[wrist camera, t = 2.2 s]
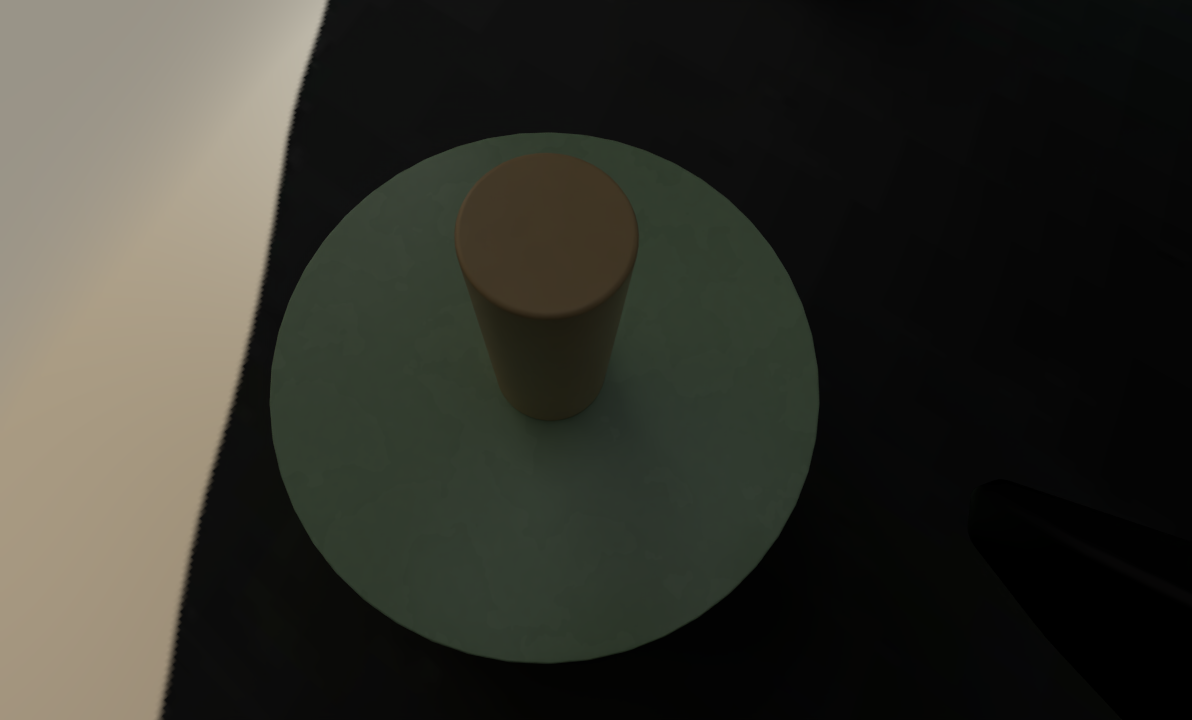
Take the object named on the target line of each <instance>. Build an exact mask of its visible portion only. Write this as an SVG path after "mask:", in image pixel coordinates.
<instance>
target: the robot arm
mask: <svg viewBox="0 0 1192 720" xmlns="http://www.w3.org/2000/svg"><path fill="white" fill-rule="evenodd" d="M968 533H969V536H970V539H971V541H972V543H973V544H974V546H975V547H976V549H977V550H978V551H979V553H980V554H981V555H982V556H983V558H984V559H985V560H986V562H987V563H988V564H989V565H990V567H991V568H992V569H993V571H994V572H995V573H996V574H997V576H998V577H999V578H1000V580H1001V581H1002V582H1003V583H1004V585H1005V586H1006V587H1007V589H1008V590H1009V591H1010V593H1011V594H1012V595H1013V596H1014V598H1015V599H1016V600H1017V602H1018V603H1019V604H1020V605H1021V607H1022V608H1023V609H1024V611H1025V612H1026V613H1027V614H1028V616H1029V617H1030V618H1031V620H1032V621H1033V622H1034V623H1035V625H1036V626H1037V627H1038V628H1039V629H1040V631H1041V632H1042V633H1043V634H1044V636H1045V637H1046V638H1047V639H1048V640H1049V641H1050V642H1051V644H1052V645H1053V646H1054V647H1055V648H1056V649H1057V650H1058V651H1059V652H1060V654H1061V655H1062V656H1063V657H1064V658H1065V659H1066V660H1067V661H1068V662H1069V663H1070V664H1071V665H1072V666H1073V667H1074V669H1075V670H1076V671H1077V672H1078V673H1079V674H1080V675H1081V676H1082V677H1083V678H1084V679H1085V680H1086V681H1087V682H1088V683H1089V685H1090V686H1091V687H1092V688H1093V689H1094V690H1095V691H1096V692H1097V693H1098V694H1099V695H1100V696H1101V697H1102V698H1103V700H1104V701H1105V702H1106V703H1107V704H1108V705H1109V706H1110V707H1111V708H1112V709H1113V710H1114V711H1115V712H1116V713H1117V715H1118V716H1119V717H1120V718H1121V719H1122V720H1192V542H1191V541H1188V540H1185V539H1182V538H1179V537H1176V536H1173V535H1170V534H1167V533H1164V532H1161V531H1158V530H1155V529H1152V528H1149V527H1146V526H1143V525H1140V524H1137V523H1134V522H1131V521H1128V520H1125V519H1122V518H1119V517H1116V516H1113V515H1110V514H1107V513H1104V512H1101V511H1098V510H1095V509H1092V508H1089V507H1086V506H1083V505H1080V504H1077V503H1074V502H1071V501H1068V500H1065V499H1062V498H1059V497H1056V496H1053V495H1050V494H1047V493H1044V492H1041V491H1038V490H1035V489H1032V488H1029V487H1026V486H1023V485H1020V484H1017V483H1014V482H1011V481H1008V480H1003V479H998V480H994V481H991V482H988V483H986V484H983V485H981V486H978V487H976V488H975V489H974V490H973V492H972V494H971V501H970V510H969V520H968Z"/></svg>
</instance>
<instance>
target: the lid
mask: <svg viewBox="0 0 1192 720" xmlns="http://www.w3.org/2000/svg"><path fill="white" fill-rule="evenodd" d="M270 413H271V425H272V437H273V443H274V447H275V451H276V456H277V460H278V465H279V469H280V473H281V477H282V479H283V482H284V484H285V487H286V490H287V492H288V495H289V497H290V500H291V502H292V505H293V508H294V510H295V512H296V514H297V515H298V517H299V519H300V521H301V522H302V524H303V526H304V528H305V530H306V531H307V533H308V535H309V537H310V538H311V540H312V542H313V543H314V545H315V546H316V547H317V549H318V550H319V551H320V553H321V554H322V555H323V556H324V558H325V559H326V560H327V562H328V563H329V564H330V565H331V567H332V568H333V569H334V571H335V572H336V573H337V574H338V575H339V576H340V577H341V578H342V579H343V580H344V581H345V582H346V583H347V584H348V585H349V586H350V587H351V588H352V589H353V590H354V591H356V592H357V593H358V594H359V595H360V596H361V597H362V598H363V599H364V600H365V601H366V602H368V603H369V604H371V605H372V606H373V607H375V608H376V609H378V610H379V611H380V612H382V613H383V614H385V615H386V616H387V617H389V618H390V619H392V620H393V621H394V622H396V623H397V624H399V625H401V626H403V627H405V628H407V629H409V630H411V631H413V632H415V633H417V634H419V635H421V636H423V637H424V638H426V639H428V640H430V641H432V642H435V643H438V644H441V645H444V646H447V647H450V648H453V649H455V650H458V651H461V652H464V653H467V654H470V655H475V656H480V657H486V658H491V659H496V660H501V661H506V662H518V663H539V664H555V663H566V662H576V661H587V660H593V659H597V658H601V657H605V656H609V655H614V654H618V653H622V652H626V651H630V650H632V649H635V648H637V647H640V646H642V645H645V644H647V643H650V642H652V641H655V640H658V639H660V638H663V637H665V636H667V635H669V634H670V633H672V632H674V631H676V630H678V629H679V628H681V627H683V626H685V625H686V624H688V623H690V622H692V621H693V620H695V619H697V618H699V617H700V616H701V615H703V614H704V613H705V612H707V611H708V610H709V609H711V608H712V607H713V606H714V605H716V604H717V603H718V602H720V601H721V600H722V599H724V598H725V597H726V596H727V595H729V594H730V593H731V592H732V591H733V590H734V589H735V588H736V587H737V586H738V585H739V584H740V583H741V582H742V581H743V580H744V579H745V578H746V577H747V576H748V575H749V574H750V573H751V572H752V571H753V570H754V569H755V568H756V566H757V565H758V564H759V562H760V561H761V560H762V558H763V557H764V556H765V554H766V553H767V552H768V550H769V549H770V548H771V546H772V545H773V543H774V542H775V541H776V539H777V538H778V537H779V535H780V533H781V531H782V529H783V527H784V526H785V524H786V522H787V520H788V518H789V516H790V515H791V513H792V511H793V509H794V507H795V505H796V503H797V500H798V498H799V495H800V492H801V490H802V487H803V485H804V482H805V479H806V477H807V474H808V471H809V467H810V462H811V458H812V454H813V449H814V445H815V441H816V435H817V424H818V413H819V383H818V367H817V361H816V355H815V350H814V344H813V338H812V334H811V331H810V328H809V324H808V321H807V318H806V315H805V312H804V308H803V305H802V303H801V301H800V298H799V296H798V294H797V292H796V290H795V288H794V285H793V283H792V281H791V279H790V277H789V275H788V273H787V271H786V270H785V268H784V266H783V265H782V263H781V262H780V260H779V258H778V257H777V255H776V254H775V252H774V250H773V249H772V247H771V246H770V245H769V243H768V242H767V241H766V240H765V238H764V237H763V236H762V235H761V233H760V232H759V231H758V230H757V229H756V227H755V226H754V225H753V224H752V222H751V221H750V220H749V219H748V218H747V217H746V216H745V215H744V214H743V213H742V212H740V211H739V210H738V209H737V208H736V207H735V206H734V205H733V204H732V203H731V202H730V201H729V200H728V199H727V198H726V197H724V196H723V195H722V194H720V193H719V192H718V191H716V190H715V189H714V188H712V187H711V186H710V185H708V184H707V183H706V182H705V181H703V180H702V179H700V178H698V177H697V176H695V175H693V174H692V173H690V172H688V171H687V170H685V169H683V168H681V167H680V166H678V165H676V164H675V163H672V162H670V161H668V160H666V159H663V158H661V157H659V156H657V155H654V154H652V153H650V152H648V151H645V150H642V149H639V148H636V147H632V146H629V145H626V144H623V143H620V142H617V141H612V140H607V139H602V138H596V137H591V136H586V135H576V134H563V133H527V134H515V135H508V136H502V137H495V138H488V139H484V140H481V141H477V142H473V143H470V144H466V145H462V146H458V147H455V148H453V149H450V150H448V151H445V152H443V153H440V154H438V155H435V156H433V157H430V158H428V159H425V160H424V161H422V162H420V163H418V164H416V165H414V166H412V167H411V168H409V169H407V170H405V171H403V172H401V173H399V174H398V175H396V176H395V177H393V178H392V179H390V180H389V181H388V182H386V183H385V184H383V185H382V186H380V187H379V188H378V189H376V190H375V191H373V192H372V193H371V194H369V195H368V196H367V197H366V198H365V199H364V200H363V201H362V202H361V203H359V204H358V205H357V206H356V207H355V208H354V209H353V210H352V211H351V212H349V213H348V214H347V215H346V216H345V217H344V218H343V220H342V221H341V222H340V223H339V224H338V225H337V226H336V228H335V229H334V230H333V231H332V232H331V233H330V235H329V236H328V237H327V238H326V239H325V240H324V242H323V243H322V245H321V246H320V248H319V249H318V250H317V252H316V253H315V255H314V256H313V258H312V259H311V261H310V262H309V264H308V265H307V267H306V268H305V270H304V272H303V274H302V276H301V278H300V280H299V282H298V284H297V286H296V288H295V290H294V292H293V294H292V296H291V298H290V301H289V304H288V306H287V309H286V312H285V315H284V318H283V321H282V324H281V327H280V330H279V333H278V338H277V343H276V348H275V353H274V358H273V363H272V371H271V389H270Z"/></svg>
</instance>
